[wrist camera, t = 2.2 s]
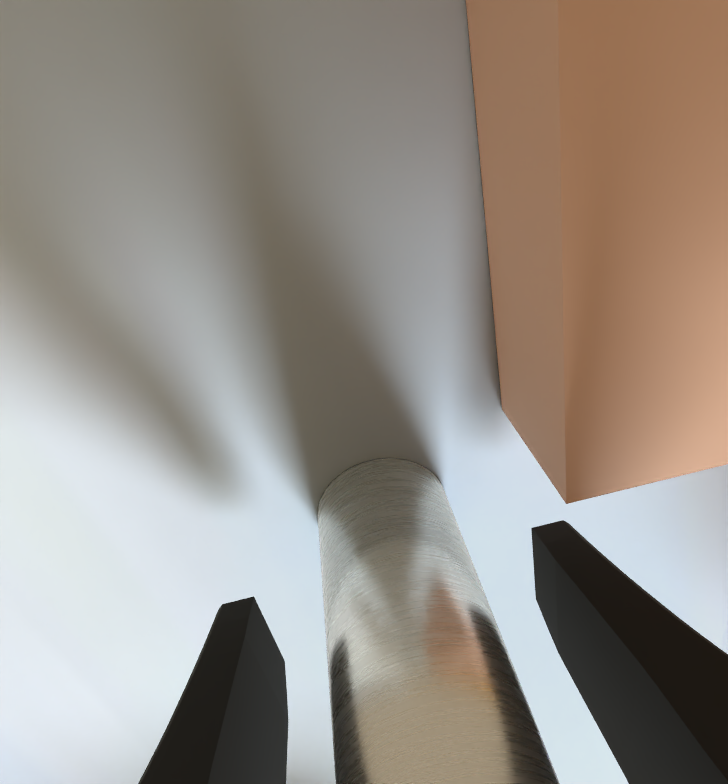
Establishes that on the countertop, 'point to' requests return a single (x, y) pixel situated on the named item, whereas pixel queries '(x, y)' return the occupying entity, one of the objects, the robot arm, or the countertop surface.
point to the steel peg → (415, 641)
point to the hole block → (607, 231)
